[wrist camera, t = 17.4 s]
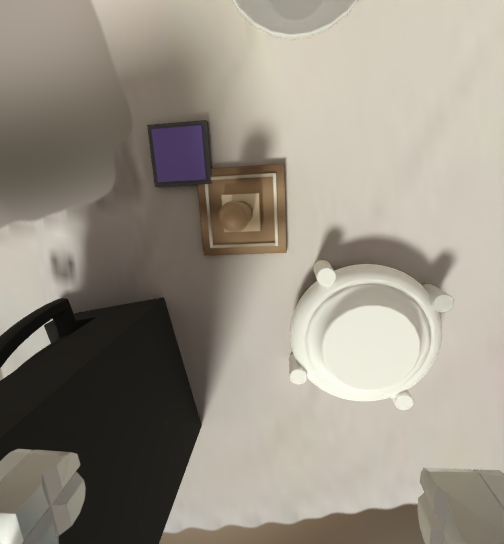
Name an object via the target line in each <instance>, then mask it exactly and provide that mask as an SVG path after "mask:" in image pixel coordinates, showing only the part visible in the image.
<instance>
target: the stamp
mask: <svg viewBox="0 0 504 544" xmlns="http://www.w3.org/2000/svg"><path fill="white" fill-rule="evenodd" d="M221 196H222V207H221V209H220V211H219V221H220V224H221V225H222V227H223V228H224V232H247V231H261V217H260V193H253V194H233V195H221Z"/></svg>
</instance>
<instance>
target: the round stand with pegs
mask: <svg viewBox="0 0 504 544" xmlns="http://www.w3.org/2000/svg"><path fill="white" fill-rule="evenodd" d="M314 273H315V275H316V278H317V281H316V282H315V283H314V284H313V285H311V286H310V287H309V288H308V290H307V291H306V292H305V293H304V294H303V296H302V297H301V299H300V300H299V302H298V304H297V306H296V308H295V310H294V313H293V316H292V320H291V325H290V343H291V347H292V351H293V354H291V355H290V357H289V377H290V380H291V381H292V382H293V383H295V384H302V383H304V382H305V381H306V379H307V377H308V378H309V379H310V380H311V381H312V382H313V383H314V384H315V385H317V386H318V387H319V388H321V389H322V390H324V391H326V392H327V393H329V394H332V395H334V396H337V397H340V398H343V399H348V400H353V401H375V400H382V399H385V398H389V397H392V399H393V401H394V403H395V405H396V407H397V408H398V409H401V410H407V409H409V408H411V407H412V405H413V399H412V397H411V395H410V394H409V392H408V390H407V389H409V388H410V387H412V386H413V385H415V384H416V383H417V382H418V381H419V380H420V379H422V378H423V376H424V375H425V374H426V373H427V372H428V371H429V369H430V368H431V366H432V365H433V363H434V361H435V359H436V357H437V355H438V352H439V349H440V345H441V339H442V325H441V318H440V315H439V312H442V313H443V312H447V311H449V310H450V309H451V308H452V307H453V304H454V300H453V298H452V297H451V296H450V295H448V294H447V293H445V292H443V291H442V290H440V289H439V288H437V287H436V286H434V285H432V284H424V285H421V284H420V283H419V282H417V281H416V280H415V279H414V278H412V277H411V276H409V275H407V274H406V273H404V272H401V271H399V270H397V269H394V268H390V267H387V266H383V265H376V264H358V265H351V266H346V267H343V268H340V269H337V270H333V268H332V267H331V265H330V263H329V262H328V261H326V260H319V261H317V262H316V263H315V265H314Z"/></svg>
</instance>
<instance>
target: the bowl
mask: <svg viewBox="0 0 504 544" xmlns="http://www.w3.org/2000/svg"><path fill="white" fill-rule="evenodd" d="M358 1H359V0H233V2H234V4H235V5H236V7H237V9H238V10H239V12H240V14H241V15H242V16H243V17H244V18H245V19H246V20H247V21H248V22H249V23H250V24H251V25H253V26H254V27H255V28H256V29H258V30H260V31H262V32H264V33H266V34H268V35H270V36H272V37H275V38H280V39H286V40H299V39H307V38H311V37H313V36H315V35H318V34H320V33H322V32H325V31H327V30H329V29H330V28H332V27H333V26H334V25H335V24H337V23H338V22H339V21H341V20H342V19H343V18H344V17H346V16H347V15H348V13H349V12H350V11H351V10H352V8H353V7H354V6H355V5H356V3H357V2H358Z"/></svg>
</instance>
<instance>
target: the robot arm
mask: <svg viewBox="0 0 504 544" xmlns="http://www.w3.org/2000/svg"><path fill="white" fill-rule="evenodd" d="M79 467H80V461H79V458H78V454H76V453H72V452H61V451H48V450H29V449H17V450H14V451H12V452H10V453H9V454H7V455H6V456H5V457H4V458H3V459H2V460H1V461H0V544H59V535H61V534H62V533H63V532H65V531H66V530H67V529H68V528H70V527H71V526H72V525H73V523H74V522H75V520H76V518H77V517H78V515H79V514H80V511H81V508H82V505H83V502H84V499H85V489H86V488H85V483H84V479H83V478H82V477H81V476H80V475H79V474H78V473H77V470H78V468H79ZM420 483H421V485H422V488H423V490H424V493H423V494H422V495H421V496H420V497H419V498H418V517H419V524H420V529H421V532H422V536H423V539H424V542H425V544H504V473H502V472H501V471H500V470H470V469H445V468H423V470H422V472H421V477H420Z"/></svg>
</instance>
